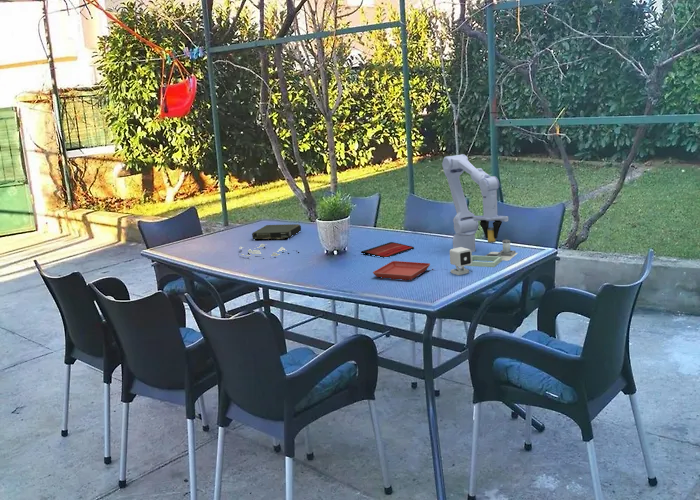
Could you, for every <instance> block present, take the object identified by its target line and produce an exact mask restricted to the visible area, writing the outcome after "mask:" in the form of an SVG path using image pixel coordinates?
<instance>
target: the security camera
mask: <svg viewBox="0 0 700 500" xmlns="http://www.w3.org/2000/svg"><path fill="white" fill-rule="evenodd" d="M472 255H473V252H472V251H471V250H470V249H467V248H463V247H459V248H454V249H453V248H451V249H449V263H450V264H451V265H454V266H455V268H453V269H450V273H451V274H453V275H456V276H461V275H465V274H469V273H470V270H469V269H468V268H465V267H469V266H468V265H471V264H472Z"/></svg>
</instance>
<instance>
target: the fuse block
mask: <svg viewBox="0 0 700 500" xmlns="http://www.w3.org/2000/svg"><path fill="white" fill-rule="evenodd" d="M510 251H511V253H503V249H502V250H501V251H490V252H489V253H487V254H486V255H485V256H497V257H502V261H506V262H507V261H508V262H509V261H510V260H511V259H513V258H514V257H515V256H517V254H518V253H519V252H516V250H511V249H510Z"/></svg>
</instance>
